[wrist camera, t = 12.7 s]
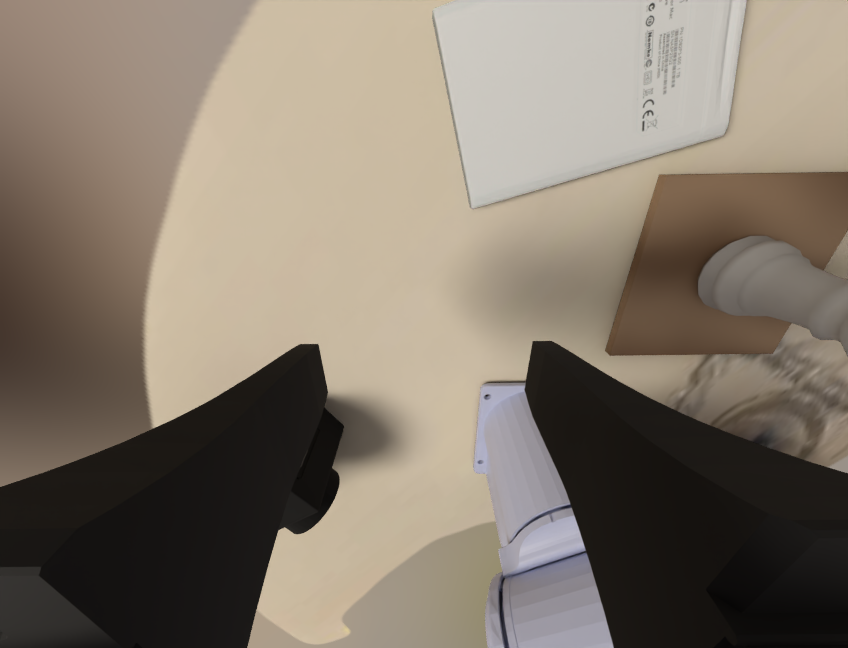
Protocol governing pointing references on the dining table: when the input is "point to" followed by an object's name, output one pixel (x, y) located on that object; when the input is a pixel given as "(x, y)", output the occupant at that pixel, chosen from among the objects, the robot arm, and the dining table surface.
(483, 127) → the external hard drive
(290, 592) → the dining table surface
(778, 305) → the rook chess piece
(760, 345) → the walnut coaster
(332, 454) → the digital camera
